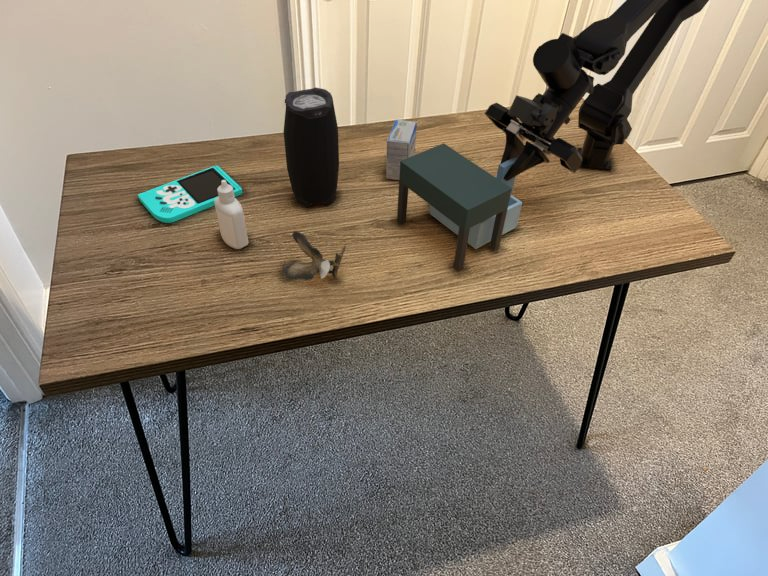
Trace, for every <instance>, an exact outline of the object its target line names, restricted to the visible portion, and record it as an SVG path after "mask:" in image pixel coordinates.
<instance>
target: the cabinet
mask: <svg viewBox="0 0 768 576" xmlns="http://www.w3.org/2000/svg"><path fill="white" fill-rule="evenodd" d="M496 177H497V176H494V175H493V174H491V173H490V172H488V171H487V170H485V169H484V168H482V167H481V166H479V165H477V163H474V162H473V161H471V160H470V159H469V158H467V157H465V156H464V155H462V154H461V153H459V152H458V151H456V150H455V149H454V148H452V147H450V146H448V145H447V144H446V143H440V144H438V145H436V146H434V147H433V146H432V147H431V148H429V149H426V150H423V151H421V152H419V153H415V155H414V156H411V157H409V158H407V159H404V160H402V161H400V176H399V180H398V193H397V194H398V195H397V212H396V222H397V223H398V224H400V225H403V224H405V223H407V215H408V214H407V213H408V202H409V201H408V200H409V199H408V198H409V190H410V191H411V192H412V193H414V194H415V195H416V196H418V197H419V198H421V199H422V200H423V201H424V202H426V203H427V204H428V205H429V206H430V205H431V206H432V207H434V208H435V209H436V210H438V211H439V212H440V213H442V214H443V215H444V216H446V217H447V218H448V219H450V220H451V221H452V222H454V223H455V224H456V225H458V226H459V232H458V235H457V239H456V246H455V253H454V259H453V266H452V267H453V269H454V270H456V271H457V272H460V271H461V270H463V269H464V266H465V260H466V255H467V249H468V248H467V247H468V237H469V231H470V228H471V227H473V226H475V225H477V224H479V223H481V222H483V221H485V220H486V219H488V218H490V217H492V216H494V215H496V217H495V222H494V227H493V232H492V237H491V241H490V242H489V247H488V249H490V250H491V251H492V252H496V251H498V250H499V249H500V245H501V240H502V236H503V235H502V232H503V228H504V223H505V218H506V214H507V209H508V205H509V200H510V196H511V195H512V193H511V191H512V188H511V187H509V186H508V185H506V184H505V183H503V182H502V181H500V180H499V179H497V178H496ZM512 192H513V191H512Z"/></svg>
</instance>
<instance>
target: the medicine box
mask: <svg viewBox="0 0 768 576" xmlns="http://www.w3.org/2000/svg"><path fill="white" fill-rule="evenodd" d="M393 122H394V123H393V125H392V127H391V130H390V133H389V135H388V138H387V139H386V153H385V154H386V159H385V160H386V161H385V179H386V180H393V181H399V176H400V161H402V160H404V159H407V158H409V157H411V156H414V155H416V147H417V146H416V144H417V130H418V122H417V121H411V120H405V119H395V120H394V121H393Z"/></svg>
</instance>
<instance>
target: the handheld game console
mask: <svg viewBox="0 0 768 576" xmlns="http://www.w3.org/2000/svg"><path fill="white" fill-rule="evenodd" d="M222 180H226V182H227V184H229V185H231V186H232V187H233V190H234V196H235V198H236V197H239V196H241V195H243V194H244V193H243V188H242V187H241V186H240V185H239V184H238V183H237V182H236V181H235V180H234V179H233V178H232V177H231V176H230V175H229V174H228V173H226V172H225V170H223V169H222V168H221V167H220V166H219V165H213V166H211V167H208V168H205V169H202V170H199V171H197V172H194V173H191V174H189V175H186V176H184V177H181V178H178V179H176V180H173V181H170V182H168V183H165V184H162V185H159V186H157V187H154V188H151V189H149V190H146V191H143V192H141V193H138V194H137V197H138V200H139V202H140V203H141V204H142V205H143V206H144V207H145V209H146V210H147V211H148V213H150V215H151V216H152V217H153V218H154V219H155V220H157V221H159V222H161V223H163V224H172V223H174V222H177V221H179V220H182V219H184V218H187V217H191V216H193V215H194V214H197V213H200V212H202V211H205V210H207V209H210V208H212V207H215V203H214V201H215V199H216V198H217V197H219V196H218V191H217V189H218V187H219V186H220V185H221V181H222Z"/></svg>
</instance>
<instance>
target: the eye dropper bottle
mask: <svg viewBox="0 0 768 576" xmlns="http://www.w3.org/2000/svg"><path fill="white" fill-rule="evenodd" d="M217 191H218V196H219V197H217V198H216V199H215V201H214V203H215V205H214V209H215V213H216V218H217V222H218V228H219V232H220V237H221V239H222V240H223V242H224V243H225V244H226V245H227V246H228V247H230V248H233V249H235V250H241V249H243V248H245V247H247V246H248V245H249V242H250V241H249V237H248V231H247V225H246V220H245V219H246V218H245V213H244V209H243V206H242V204H241V202H240V201H239V200H238V199H237V198H236V197H235V196H234V190H233V187H232V186H231V185H229V184H227V182H226V180H222V181H221V185H220V186H219V187H218V189H217Z"/></svg>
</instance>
